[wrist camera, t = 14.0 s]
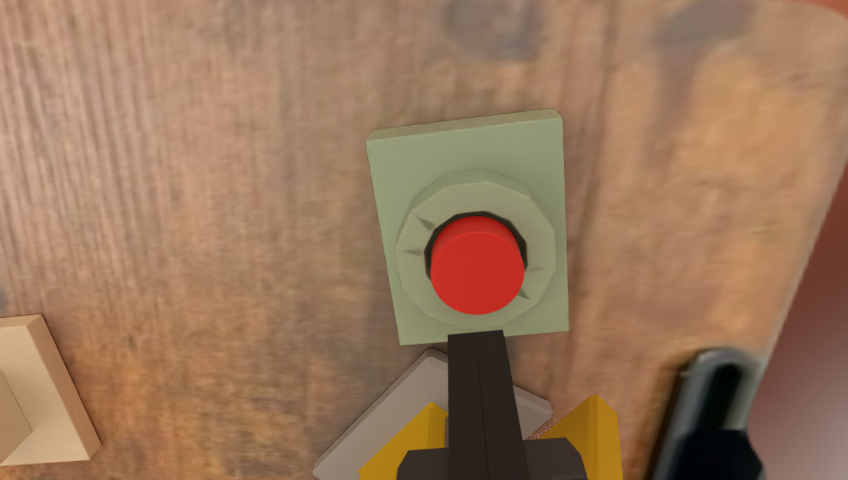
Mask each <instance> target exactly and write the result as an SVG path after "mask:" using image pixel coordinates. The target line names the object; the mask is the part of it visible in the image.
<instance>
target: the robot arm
mask: <svg viewBox="0 0 848 480" xmlns="http://www.w3.org/2000/svg"><path fill="white" fill-rule="evenodd" d="M448 439H449V447H446V448H433V449H419V450H408V451H407V453H406V455H405V457H404V458H403V460H402V462H401V463H400V465H399V467H398V468H397V476H396V480H588V479H587V474H586V470H585V467H584V464H583V460H582V457H581V454H580V453H579V452H578V451H577V450H576V448H575V447H574V446H573V445H572V444H571V443H570V442H569V440H568V439H567V438H566V437H562V438H549V439H535V440H523V439H522V433H521V428H520V422H519V416H518V411H517V405H516V400H515V394H514V388H513V383H512V377H511V372H510V366H509V361H508V355H507V349H506V344H505V338H504V333H503V330H492V331H481V332H470V333H459V334H448Z"/></svg>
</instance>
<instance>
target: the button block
mask: <svg viewBox="0 0 848 480" xmlns="http://www.w3.org/2000/svg"><path fill="white" fill-rule="evenodd" d="M365 144H366V149H367V155H368V161H369V167H370V173H371V179H372V184H373V190H374V196H375V202H376V208H377V213H378V219H379V225H380V231H381V237H382V242H383V248H384V254H385V260H386V266H387V272H388V277H389V283H390V289H391V295H392V301H393V306H394V312H395V318H396V324H397V330H398V335H399V341H400V345H401V346H403V345H414V344H426V343H437V342H448V334H459V333H470V332H481V331H492V330H503V333H504V337H507V336H518V335H530V334H541V333H553V332H564V331H569V309H568V276H567V244H566V211H565V179H564V146H563V118H562V117H561V116H560V115H559V114H558V113H557V112H556V111H555V110H554V109H553V108H549V109H540V110H532V111H524V112H516V113H508V114H499V115H491V116H483V117H475V118H466V119H458V120H450V121H442V122H434V123H425V124H417V125H409V126H401V127H393V128H384V129H376V130H372V131H371V133H370V134H369V136H368V138H367V139H366V141H365ZM468 216H484V217H489V218H492V219H495V220H497V221H499V222H501V223H502V224H504V225H505V226H506V227H507V228H508V229H509V230H510V231H511V232H512V234H513V235H514V237H515V239H516V241H517V244H518V247H519V250H520V254H521V257H522V261H523V264H524V280H523V283H522V286H521V289H520V291H519V292H518V294H517V295H516V297H515V298H514V299H513V300H512V301H511V302H510V303H509V304H508V305H506V306H505V307H503V308H501V309H499V310H497V311H495V312H492V313H488V314H482V315H472V314H465V313H462V312H459V311H456V310H454V309H452V308H451V307H449V306H448V305H446V304H445V303H444V302H443V301H442V300H441V299H440V298H439V296H438V295H437V294H436V292H435V290H434V288H433V285H432V281H431V260H432V249H433V245H434V243H435V240H436V238H437V236H438V235H439V234H440V232H441V231H442V230H443V229H444V228H445V227H446V226H448V225H449V224H450V223H452V222H454V221H456V220H458V219H460V218H464V217H468Z"/></svg>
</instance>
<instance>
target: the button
mask: <svg viewBox="0 0 848 480" xmlns="http://www.w3.org/2000/svg"><path fill="white" fill-rule="evenodd" d="M523 280H524V264H523V261H522V257H521V254H520V250H519V247H518V244H517V241H516V239H515V237H514V235H513V234H512V232H511V231H510V230H509V229H508V228H507V227H506V226H505V225H504V224H502V223H501V222H499V221H497V220H495V219H492V218H489V217H484V216H468V217H464V218H460V219H458V220H456V221H454V222H452V223H450V224H449V225H448V226H446V227H445V228H444V229H443V230H442V231H441V232H440V234H439V235H438V236H437V238H436V240H435V243H434V245H433V249H432V260H431V281H432V285H433V288H434V290H435V292H436V294H437V295H438V296H439V298H440V299H441V300H442V301H443V302H444V303H445V304H446V305H448V306H449V307H451V308H452V309H454V310H456V311H459V312H462V313H465V314H472V315H482V314H488V313H492V312H495V311H497V310H499V309H501V308H503V307H505V306H506V305H508V304H509V303H510V302H511V301H512V300H513V299H514V298H515V297H516V295H517V294H518V292H519V291H520V289H521V286H522V283H523Z"/></svg>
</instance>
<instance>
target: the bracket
mask: <svg viewBox="0 0 848 480" xmlns="http://www.w3.org/2000/svg"><path fill="white" fill-rule="evenodd" d="M100 446H101V442H100V440H99V438H98V436H97V434H96V432H95V429H94V427H93V425H92V423H91V421H90V418H89V416H88V414H87V412H86V410H85V408H84V405H83V403H82V401H81V399H80V397H79V395H78V392H77V390H76V388H75V386H74V384H73V381H72V379H71V377H70V375H69V373H68V371H67V368H66V366H65V364H64V362H63V360H62V358H61V355H60V353H59V351H58V349H57V347H56V344H55V342H54V340H53V338H52V336H51V334H50V331H49V329H48V327H47V325H46V323H45V321H44V318H43V316H42V314H37V315H26V316H16V317H6V318H0V466H9V465H23V464H37V463H51V462H65V461H79V460H90V459H91V457H92V456H93V455H94V454H95V452H96V451H97V450H98V449H99V447H100Z"/></svg>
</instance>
